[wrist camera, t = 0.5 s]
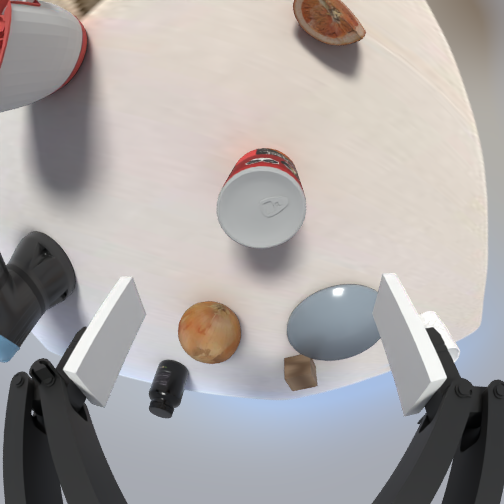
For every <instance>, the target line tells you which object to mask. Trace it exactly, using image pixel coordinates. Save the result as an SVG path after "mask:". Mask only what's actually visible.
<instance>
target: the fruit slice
mask: <svg viewBox="0 0 504 504" xmlns="http://www.w3.org/2000/svg"><path fill="white" fill-rule="evenodd" d="M293 10H294V15H295V17H296V19H297V21H298V23H299V25H300V26H301V27H302V28H303V30H305V31H306V32H307V33H308V34H309V35H311V36H312V37H313V38H315V39H317V40H318V41H321V42H323V43H326V44H330V45H347V44H351V43H355V42H357V41H360V40H361V39H363V37H364V36H365V34H366V32H365V30H364V28H363V27H362V25H361V24H360V22H359V21H358V19H357V18H356V17H355V15H354V14H353V13H352V12H351V11H350V9H349V8H348V7H347V6H346V5H345V4H344V3H343V2H341V1H340V0H294V3H293Z"/></svg>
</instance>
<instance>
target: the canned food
mask: <svg viewBox="0 0 504 504" xmlns="http://www.w3.org/2000/svg"><path fill="white" fill-rule="evenodd" d="M305 214H306V199H305V195H304V191H303V188H302V185H301V182H300V179H299V176H298V173H297V171H296V168H295V166H294V164H293V162H292V161H291V160H290V159H289V157H288V156H286V155H285V154H283V153H282V152H280V151H277V150H274V149H268V148H262V149H256V150H253V151H250V152H249V153H247V154H245V155H244V156H243V157H242V158H240V160H239V161H238V162H237V163H236V165H235V167H234V168H233V170H232V172H231V173H230V175H229V177H228V178H227V180H226V182H225V184H224V186H223V188H222V190H221V192H220V194H219V197H218V202H217V216H218V221H219V223H220V225H221V228H222V229H223V230H224V232H225V233H226V234H227V235H228V236H229V237H230V238H231V239H232V240H234V241H235V242H237V243H239V244H241V245H244V246H246V247H251V248H259V249H264V248H271V247H275V246H278V245H280V244H282V243H285V242H286V241H288V240H289V239H290V238H292V237H293V236H294V235H295V234H296V233H297V232H298V230H299V229H300V227H301V226H302V224H303V221H304V219H305Z"/></svg>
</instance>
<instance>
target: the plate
mask: <svg viewBox="0 0 504 504" xmlns="http://www.w3.org/2000/svg"><path fill="white" fill-rule="evenodd" d="M377 294H378V292H377V291H376V290H374V289H372V288H370V287H367V286H363V285H357V284H343V285H336V286H331V287H328V288H325V289H322V290H320V291H318V292H316V293H314V294H312V295H310V296H309V297H307V298H306V299H304V300H303V301H302V302H301V303H300V304H299V305H298V306H297V307H296V308H295V309H294V311H293V312H292V314H291V316H290V318H289V321H288V325H287V335H288V339H289V342H290V344H291V345H292V346H293V348H294V349H295V350H296V351H298V352H299V353H300V354H302V355H304V356H306V357H309V358H312V359H316V360H325V361H333V360H341V359H345V358H349V357H352V356H355V355H357V354H360V353H362V352H363V351H365V350H367V349H368V348H370V347H371V346H373V345H374V344H375V343H376V342H377V341H378V340H379V339H380V338H381V337H380V334H379V331H378V328H377V326H376V323H375V320H374V317H373V314H372V312H373V309H374V305H375V302H376V298H377Z"/></svg>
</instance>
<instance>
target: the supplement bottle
mask: <svg viewBox="0 0 504 504" xmlns="http://www.w3.org/2000/svg"><path fill="white" fill-rule="evenodd" d="M187 377H188V371H187V369H186V367H185V366H184V365H182V364H181V363H179V362H176V361H173V360H164V361H162V362H160V364H159V366H158V368H157V371H156V374H155V377H154V380H153V382H152V385H151V388H150V391H149V397H150V399H151V400H152V401H151V402H150V406H149V410H150V412H151V413H153V414H154V415H156V416H159V417H162V418H171V417H172V414H173V411H174V408H176V407H178V406H179V405H180V403H181V399H182V395H183V392H184V388H185V384H186V381H187Z"/></svg>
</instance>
